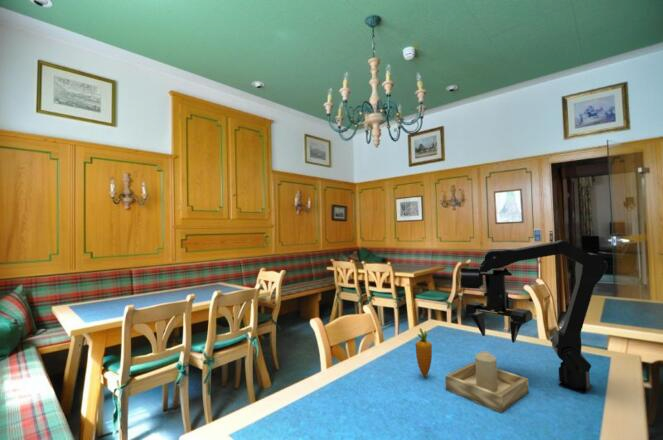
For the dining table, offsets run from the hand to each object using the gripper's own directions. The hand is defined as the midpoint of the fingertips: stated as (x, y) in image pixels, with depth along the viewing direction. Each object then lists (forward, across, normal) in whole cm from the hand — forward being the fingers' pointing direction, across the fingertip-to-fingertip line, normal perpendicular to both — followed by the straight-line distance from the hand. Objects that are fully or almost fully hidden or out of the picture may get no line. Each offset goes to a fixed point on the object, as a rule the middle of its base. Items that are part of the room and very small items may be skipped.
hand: (498, 338), depth 104 cm
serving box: (+12, -1, +12) cm, 17 cm away
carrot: (+12, +16, +17) cm, 26 cm away
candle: (+11, -2, +12) cm, 16 cm away
